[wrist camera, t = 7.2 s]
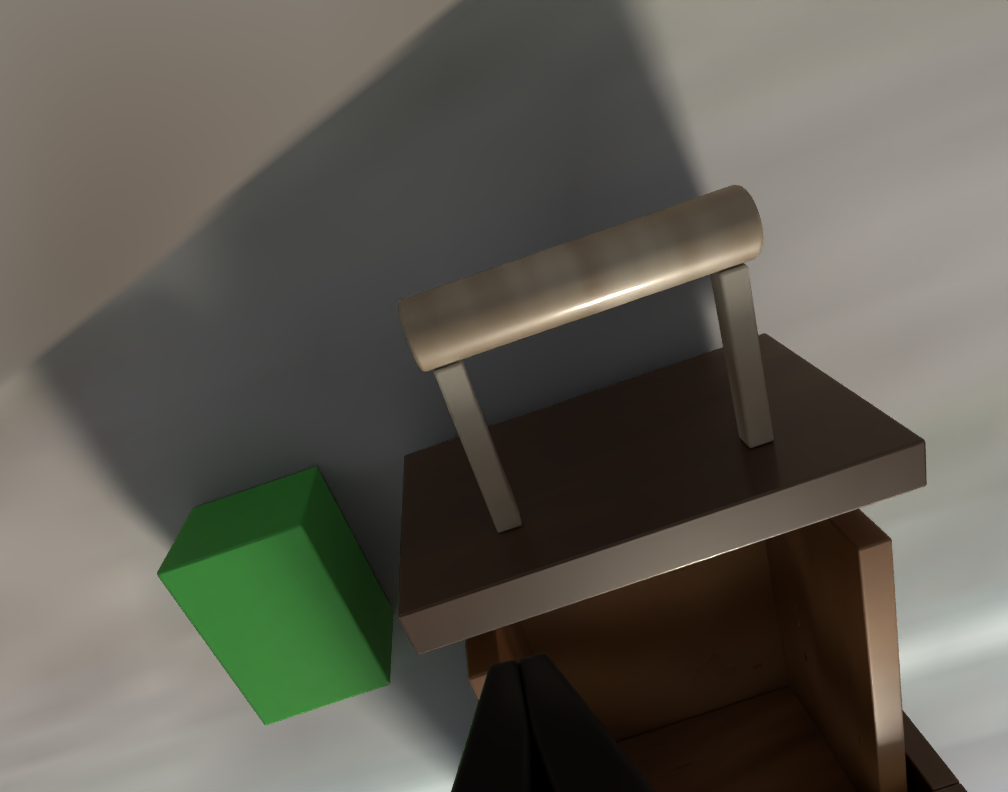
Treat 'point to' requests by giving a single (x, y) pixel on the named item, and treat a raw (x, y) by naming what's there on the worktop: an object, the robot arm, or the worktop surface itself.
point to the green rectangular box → (283, 596)
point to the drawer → (668, 522)
